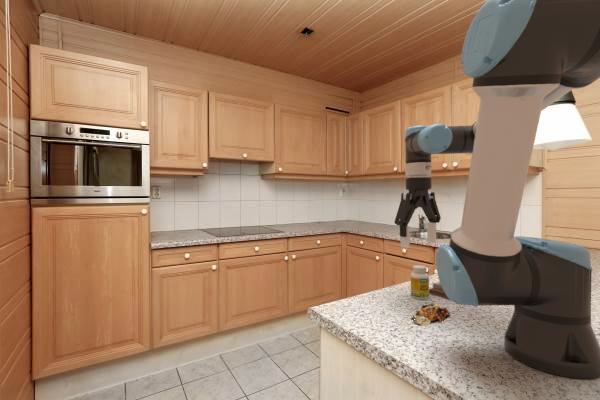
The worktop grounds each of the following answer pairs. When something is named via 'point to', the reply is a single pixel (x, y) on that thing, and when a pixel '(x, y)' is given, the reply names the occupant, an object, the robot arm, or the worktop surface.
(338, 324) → the worktop surface
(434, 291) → the socket board
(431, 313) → the brown lumpy food piece
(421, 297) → the supplement bottle
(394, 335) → the worktop surface
